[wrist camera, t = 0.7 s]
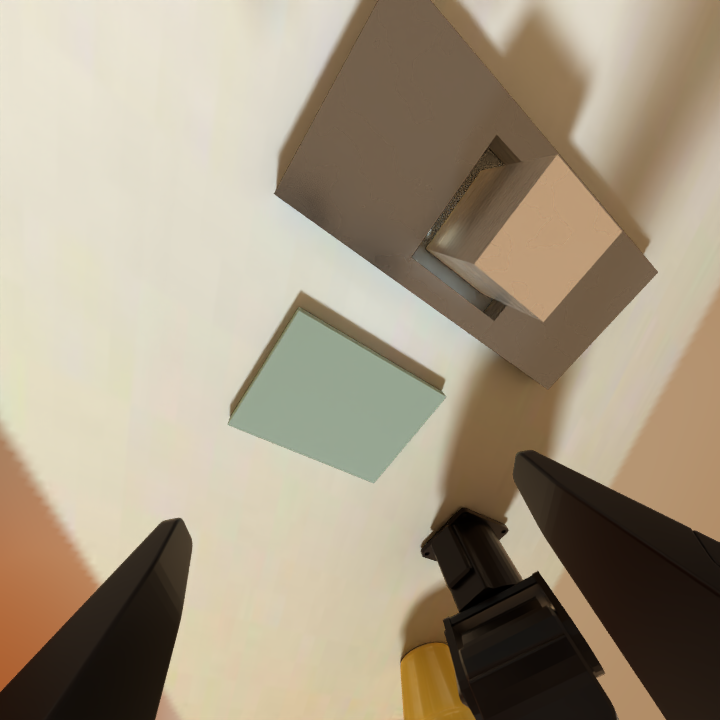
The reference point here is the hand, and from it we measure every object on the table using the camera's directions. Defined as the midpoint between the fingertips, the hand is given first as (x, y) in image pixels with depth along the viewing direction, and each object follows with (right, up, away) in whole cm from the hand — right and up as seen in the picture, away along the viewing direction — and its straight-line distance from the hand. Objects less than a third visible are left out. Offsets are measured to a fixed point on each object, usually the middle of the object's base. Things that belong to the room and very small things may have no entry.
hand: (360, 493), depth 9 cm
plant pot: (+8, -34, +32) cm, 47 cm away
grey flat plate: (+7, +11, +11) cm, 17 cm away
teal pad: (-1, 0, +14) cm, 14 cm away
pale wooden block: (+7, +11, +11) cm, 17 cm away
